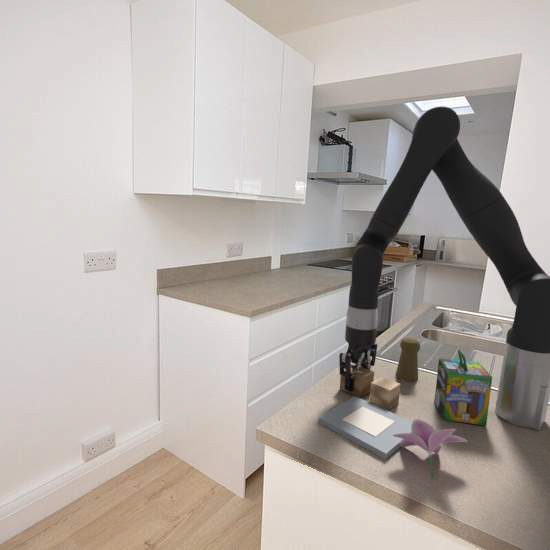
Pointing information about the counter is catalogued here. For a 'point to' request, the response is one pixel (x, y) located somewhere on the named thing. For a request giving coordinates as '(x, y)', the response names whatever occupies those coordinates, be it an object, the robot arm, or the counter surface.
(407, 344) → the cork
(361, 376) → the walnut block
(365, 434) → the board
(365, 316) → the robot arm
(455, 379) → the chalk box
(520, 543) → the counter surface
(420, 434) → the lily
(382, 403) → the oak cube
